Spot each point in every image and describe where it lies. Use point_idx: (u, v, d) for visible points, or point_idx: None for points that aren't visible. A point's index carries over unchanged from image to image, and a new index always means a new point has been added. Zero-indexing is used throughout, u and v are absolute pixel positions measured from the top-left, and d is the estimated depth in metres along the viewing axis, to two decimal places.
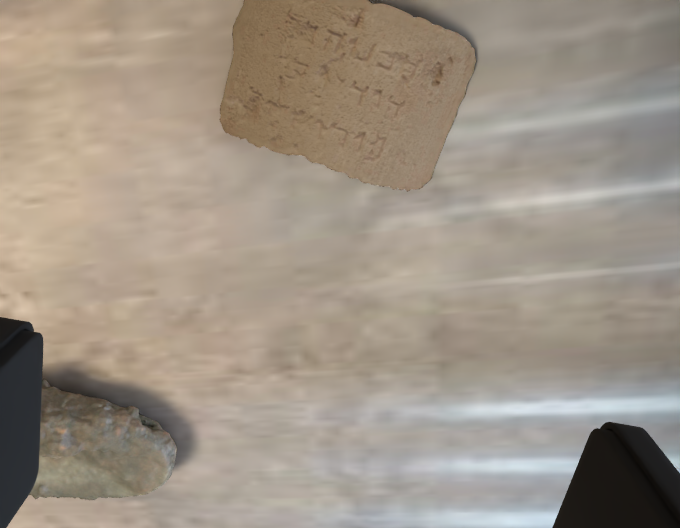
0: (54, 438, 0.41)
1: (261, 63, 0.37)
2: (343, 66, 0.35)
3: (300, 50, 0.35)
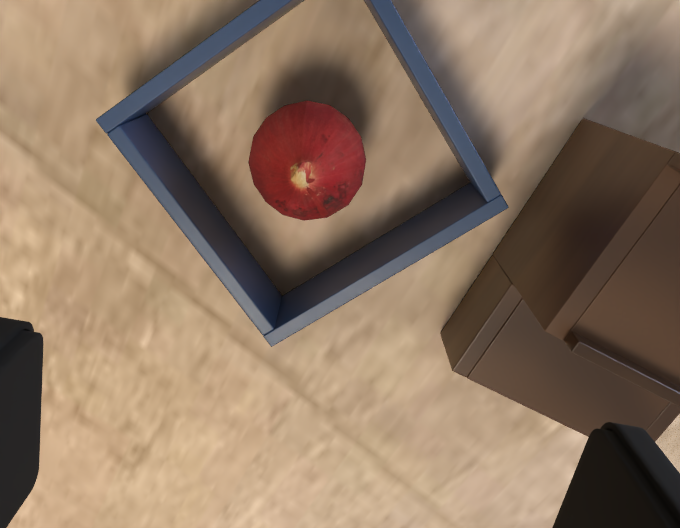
0: None
1: None
2: None
3: None
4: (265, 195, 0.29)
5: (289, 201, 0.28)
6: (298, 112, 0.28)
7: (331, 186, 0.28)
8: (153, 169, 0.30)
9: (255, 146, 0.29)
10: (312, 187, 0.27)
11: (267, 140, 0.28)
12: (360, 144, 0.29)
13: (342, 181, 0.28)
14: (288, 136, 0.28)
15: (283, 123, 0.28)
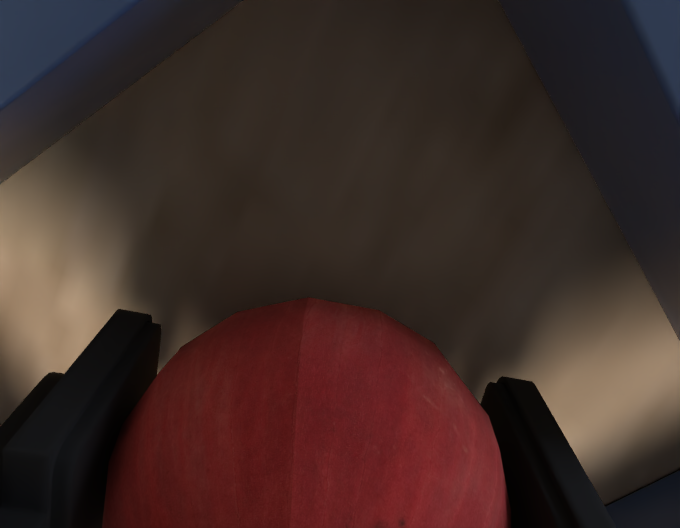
0: None
1: None
2: None
3: None
4: None
5: None
6: (268, 397, 0.07)
7: None
8: None
9: (107, 511, 0.08)
10: None
11: (144, 519, 0.07)
12: (501, 473, 0.08)
13: None
14: None
15: (207, 453, 0.07)
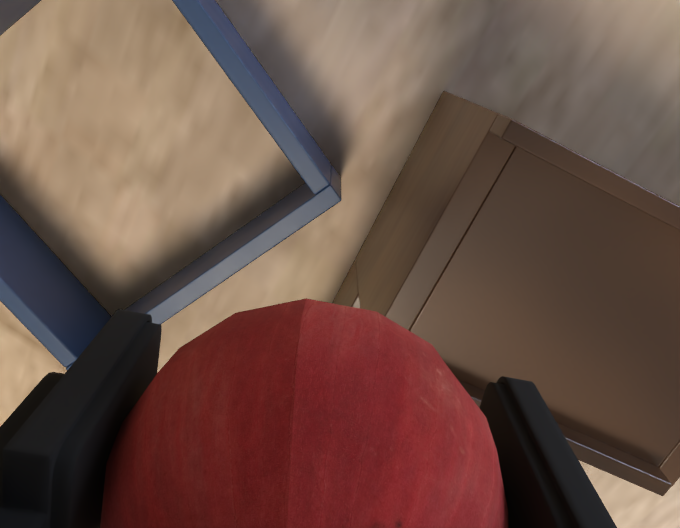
0: None
1: None
2: None
3: None
4: None
5: None
6: (266, 398, 0.07)
7: None
8: None
9: (105, 512, 0.08)
10: None
11: (140, 520, 0.07)
12: (498, 474, 0.08)
13: None
14: None
15: (204, 454, 0.07)
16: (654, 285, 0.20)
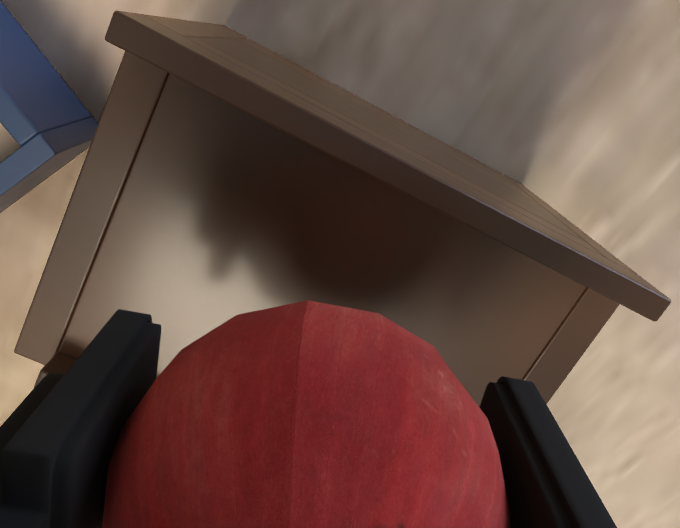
0: None
1: None
2: None
3: None
4: None
5: None
6: (267, 400, 0.07)
7: None
8: None
9: (107, 514, 0.08)
10: None
11: (142, 522, 0.07)
12: (500, 476, 0.08)
13: None
14: None
15: (207, 456, 0.07)
16: (394, 266, 0.15)
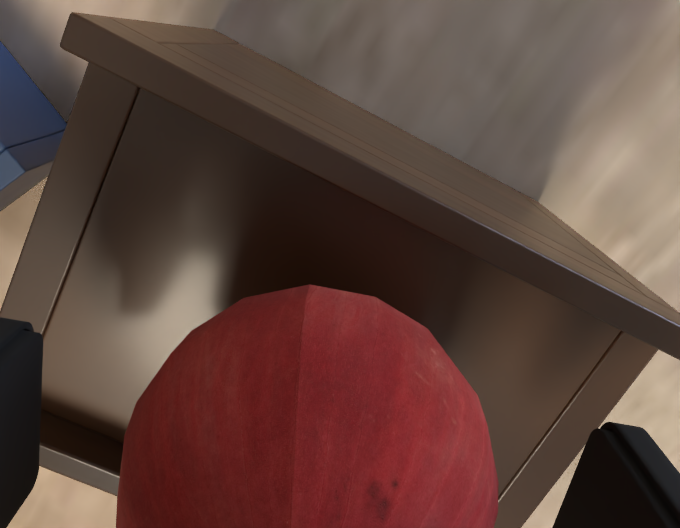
0: None
1: None
2: None
3: None
4: None
5: None
6: (273, 371, 0.08)
7: None
8: None
9: (124, 479, 0.08)
10: None
11: (158, 483, 0.07)
12: (488, 446, 0.09)
13: None
14: (233, 495, 0.07)
15: (217, 421, 0.07)
16: (403, 306, 0.13)
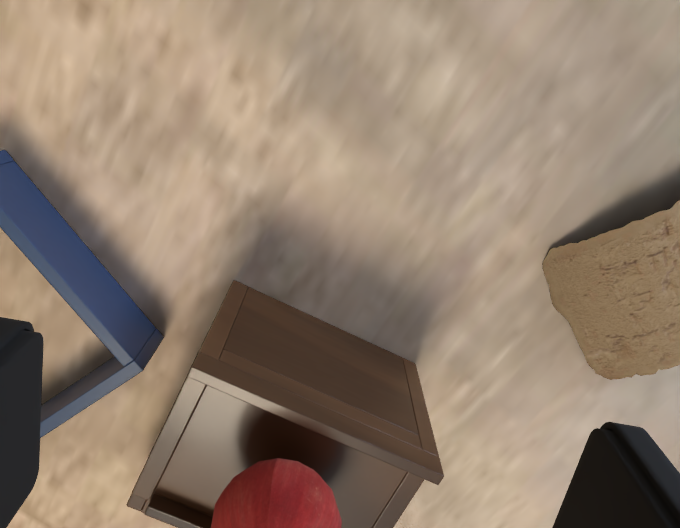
0: None
1: (603, 314, 0.37)
2: None
3: (634, 286, 0.36)
4: None
5: None
6: (262, 500, 0.25)
7: None
8: None
9: None
10: None
11: None
12: (334, 520, 0.26)
13: None
14: None
15: (245, 516, 0.25)
16: (319, 453, 0.30)
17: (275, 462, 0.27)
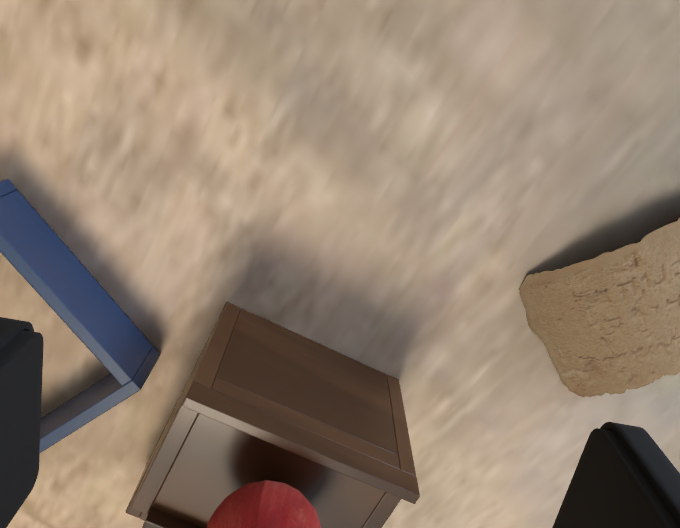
0: None
1: (575, 337, 0.40)
2: (649, 298, 0.37)
3: (604, 312, 0.38)
4: None
5: None
6: (250, 523, 0.27)
7: None
8: None
9: None
10: None
11: None
12: None
13: None
14: None
15: None
16: (305, 473, 0.33)
17: (263, 485, 0.29)
